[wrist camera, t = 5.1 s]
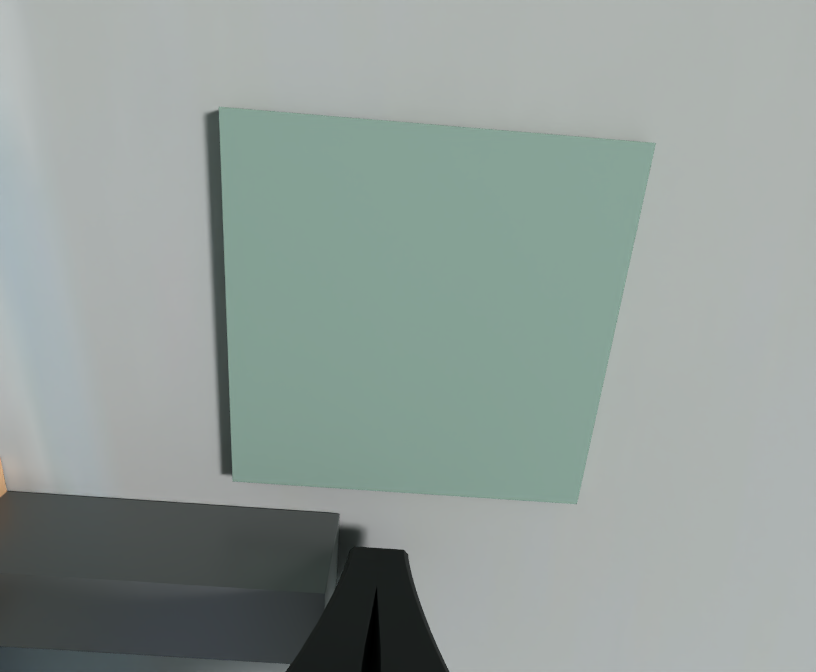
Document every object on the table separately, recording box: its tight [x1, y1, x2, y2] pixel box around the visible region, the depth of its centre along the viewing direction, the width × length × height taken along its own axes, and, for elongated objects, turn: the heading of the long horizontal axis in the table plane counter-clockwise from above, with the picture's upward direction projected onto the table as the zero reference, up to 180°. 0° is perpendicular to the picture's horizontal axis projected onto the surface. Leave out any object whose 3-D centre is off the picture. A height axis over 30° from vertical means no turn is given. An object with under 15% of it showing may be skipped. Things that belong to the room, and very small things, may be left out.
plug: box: [0, 459, 340, 664], centre depth 12 cm, size 4×13×4 cm, turn 85°
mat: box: [219, 107, 656, 504], centre depth 12 cm, size 8×8×1 cm
